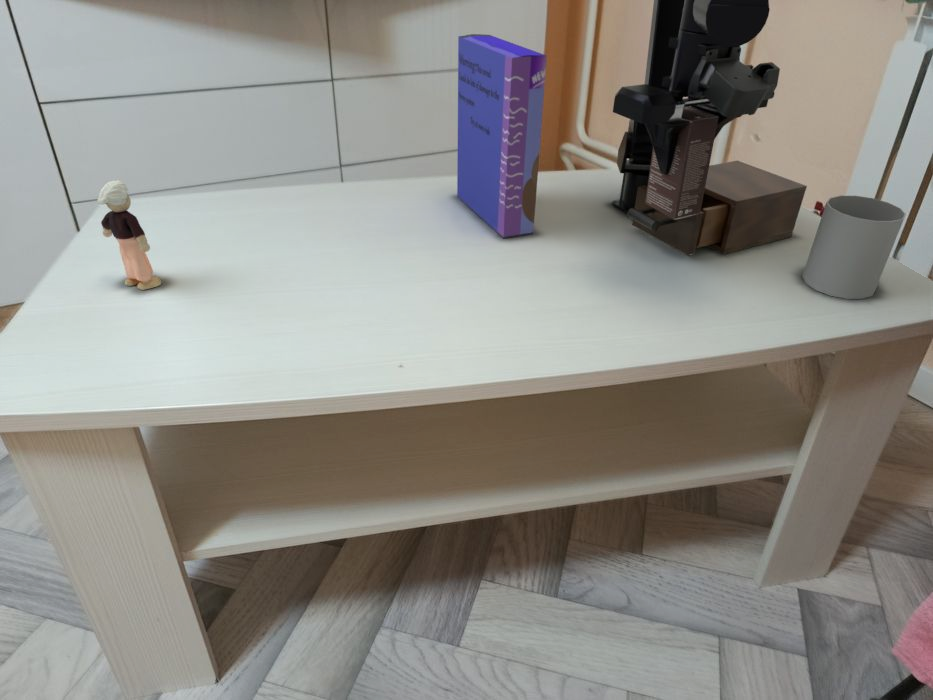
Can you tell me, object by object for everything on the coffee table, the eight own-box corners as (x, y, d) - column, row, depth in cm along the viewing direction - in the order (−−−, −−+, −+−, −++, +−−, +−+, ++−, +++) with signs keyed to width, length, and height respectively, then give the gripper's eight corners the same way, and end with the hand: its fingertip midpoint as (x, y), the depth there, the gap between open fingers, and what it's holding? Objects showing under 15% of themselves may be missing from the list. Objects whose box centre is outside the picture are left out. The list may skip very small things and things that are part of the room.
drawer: (663, 261, 86) (671, 219, 83) (608, 230, 95) (614, 191, 92) (754, 238, 93) (765, 198, 90) (695, 211, 101) (703, 173, 98)
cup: (883, 302, 80) (915, 224, 74) (811, 295, 81) (837, 218, 76) (863, 271, 87) (891, 198, 81) (796, 265, 88) (820, 192, 83)
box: (702, 213, 82) (721, 115, 75) (673, 221, 81) (689, 121, 74) (671, 196, 87) (686, 102, 80) (642, 203, 85) (655, 108, 78)
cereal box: (533, 233, 95) (546, 53, 82) (503, 238, 94) (512, 56, 81) (484, 193, 109) (489, 33, 96) (457, 197, 107) (458, 34, 94)
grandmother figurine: (176, 280, 82) (151, 180, 75) (155, 294, 79) (126, 191, 72) (126, 270, 84) (97, 172, 77) (103, 283, 81) (70, 182, 74)
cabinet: (723, 254, 91) (736, 201, 86) (660, 222, 100) (669, 172, 96) (791, 236, 96) (807, 185, 92) (725, 207, 105) (737, 160, 101)
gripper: (694, 49, 62) (664, 206, 71) (828, 36, 70) (786, 180, 78) (620, 31, 71) (601, 174, 79) (747, 21, 78) (717, 153, 87)
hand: (678, 170), depth 81 cm, fingers closed on box, 4 cm apart
